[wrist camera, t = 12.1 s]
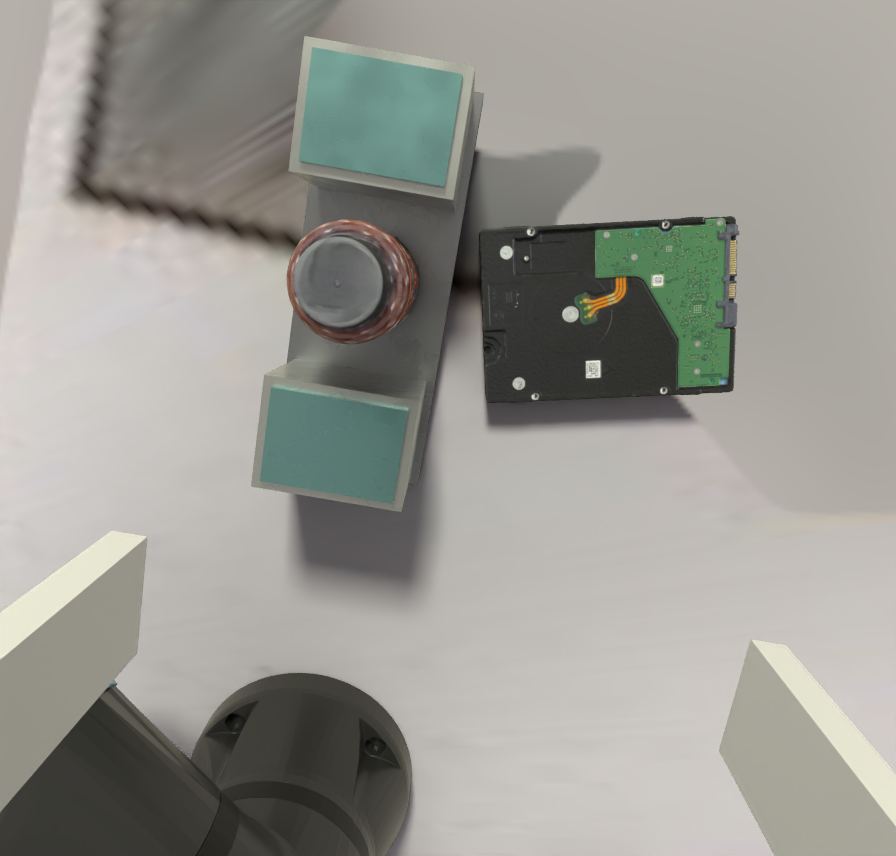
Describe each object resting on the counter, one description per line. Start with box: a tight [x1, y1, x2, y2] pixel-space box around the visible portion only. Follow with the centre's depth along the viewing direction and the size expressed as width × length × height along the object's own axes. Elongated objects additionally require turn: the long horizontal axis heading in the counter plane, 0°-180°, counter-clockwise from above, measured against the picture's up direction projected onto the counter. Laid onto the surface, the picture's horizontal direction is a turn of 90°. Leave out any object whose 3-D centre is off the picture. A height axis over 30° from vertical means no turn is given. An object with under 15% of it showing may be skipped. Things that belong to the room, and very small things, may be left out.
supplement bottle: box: [287, 219, 420, 344], centre depth 37 cm, size 6×6×11 cm
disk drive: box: [479, 216, 739, 403], centre depth 43 cm, size 10×3×15 cm
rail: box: [251, 36, 484, 512], centre depth 40 cm, size 23×9×9 cm, turn 170°
